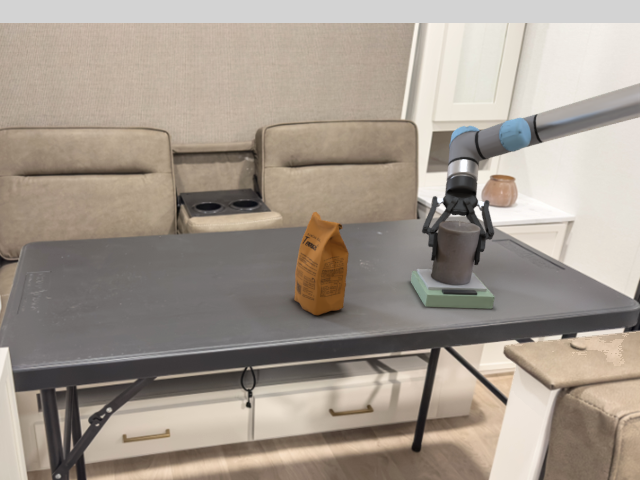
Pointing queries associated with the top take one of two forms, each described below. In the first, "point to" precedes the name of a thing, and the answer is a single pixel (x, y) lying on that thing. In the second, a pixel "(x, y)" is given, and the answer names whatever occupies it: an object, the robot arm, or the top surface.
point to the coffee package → (321, 267)
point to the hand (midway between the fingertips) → (454, 260)
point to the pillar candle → (455, 252)
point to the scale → (451, 292)
